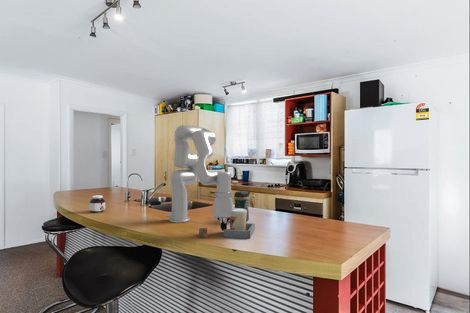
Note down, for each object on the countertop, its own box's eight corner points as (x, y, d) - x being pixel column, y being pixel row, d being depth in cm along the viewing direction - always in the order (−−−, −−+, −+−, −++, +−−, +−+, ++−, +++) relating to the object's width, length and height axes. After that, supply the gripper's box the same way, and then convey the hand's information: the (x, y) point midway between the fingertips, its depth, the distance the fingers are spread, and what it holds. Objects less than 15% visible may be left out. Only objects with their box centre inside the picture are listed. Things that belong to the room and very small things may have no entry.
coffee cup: (226, 231, 146) (226, 208, 146) (242, 229, 150) (242, 207, 150) (232, 236, 138) (232, 211, 138) (249, 234, 141) (249, 210, 141)
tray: (223, 236, 136) (223, 229, 136) (231, 228, 152) (231, 222, 152) (250, 238, 133) (250, 231, 133) (254, 230, 149) (254, 223, 149)
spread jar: (93, 213, 193) (93, 197, 193) (84, 212, 200) (84, 195, 200) (109, 211, 203) (109, 195, 204) (100, 209, 210) (100, 194, 210)
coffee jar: (242, 223, 166) (242, 192, 166) (231, 221, 170) (231, 191, 170) (251, 220, 174) (251, 190, 174) (240, 218, 178) (240, 189, 178)
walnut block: (199, 238, 134) (199, 230, 134) (199, 236, 138) (199, 228, 138) (207, 238, 134) (207, 229, 134) (207, 235, 138) (207, 227, 138)
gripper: (208, 195, 142) (207, 231, 142) (236, 196, 139) (236, 233, 139) (212, 193, 150) (212, 227, 149) (239, 194, 146) (239, 229, 146)
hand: (223, 230), depth 144 cm, fingers closed
